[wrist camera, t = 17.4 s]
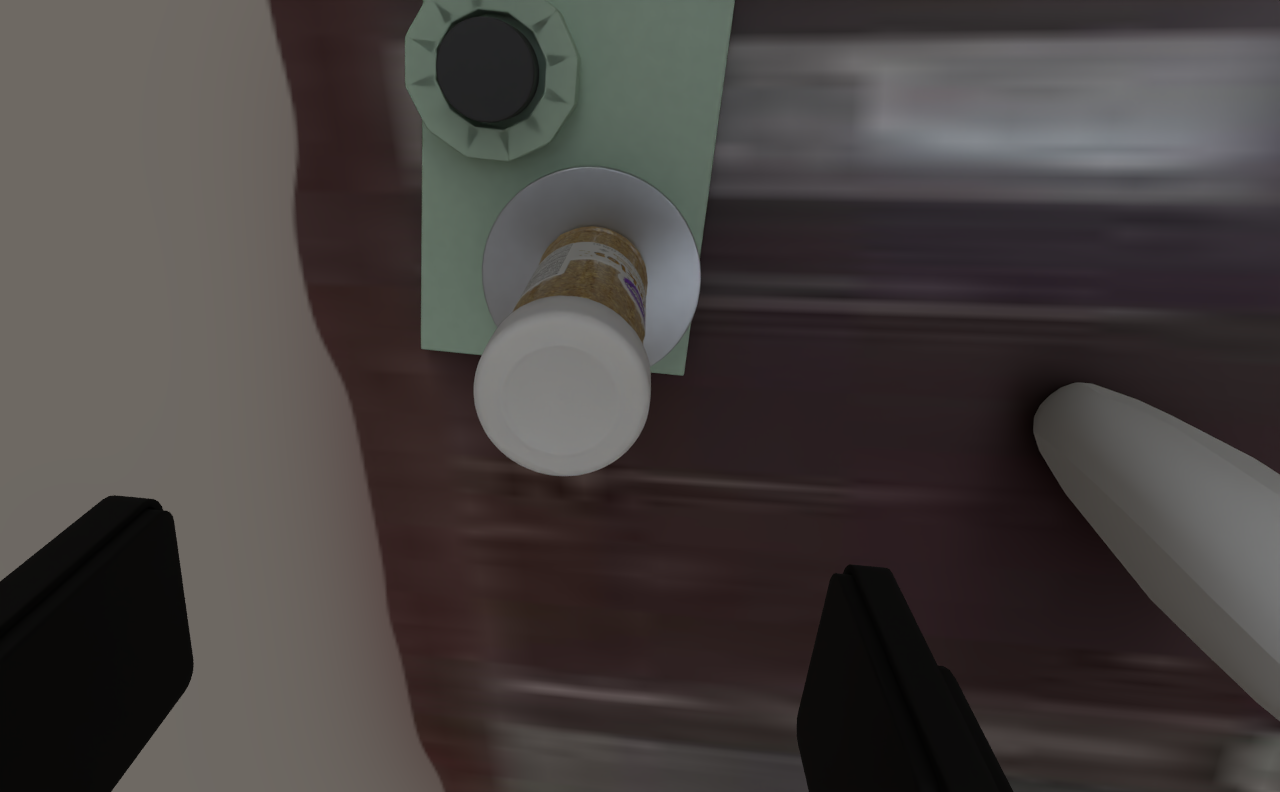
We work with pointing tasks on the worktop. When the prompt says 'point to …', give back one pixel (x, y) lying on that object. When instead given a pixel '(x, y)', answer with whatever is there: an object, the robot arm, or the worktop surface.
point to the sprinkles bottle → (570, 359)
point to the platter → (604, 204)
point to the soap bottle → (1177, 522)
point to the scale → (562, 131)
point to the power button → (487, 69)
